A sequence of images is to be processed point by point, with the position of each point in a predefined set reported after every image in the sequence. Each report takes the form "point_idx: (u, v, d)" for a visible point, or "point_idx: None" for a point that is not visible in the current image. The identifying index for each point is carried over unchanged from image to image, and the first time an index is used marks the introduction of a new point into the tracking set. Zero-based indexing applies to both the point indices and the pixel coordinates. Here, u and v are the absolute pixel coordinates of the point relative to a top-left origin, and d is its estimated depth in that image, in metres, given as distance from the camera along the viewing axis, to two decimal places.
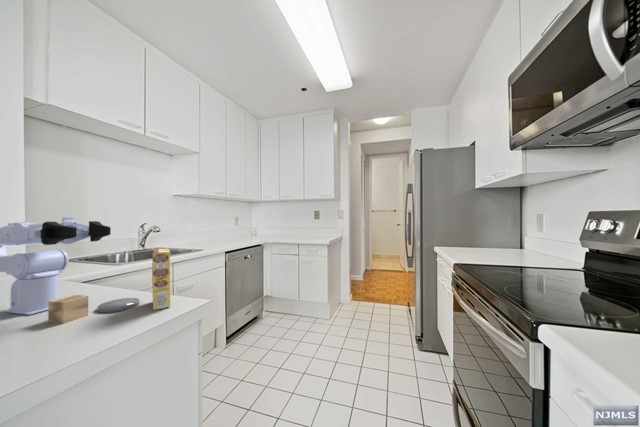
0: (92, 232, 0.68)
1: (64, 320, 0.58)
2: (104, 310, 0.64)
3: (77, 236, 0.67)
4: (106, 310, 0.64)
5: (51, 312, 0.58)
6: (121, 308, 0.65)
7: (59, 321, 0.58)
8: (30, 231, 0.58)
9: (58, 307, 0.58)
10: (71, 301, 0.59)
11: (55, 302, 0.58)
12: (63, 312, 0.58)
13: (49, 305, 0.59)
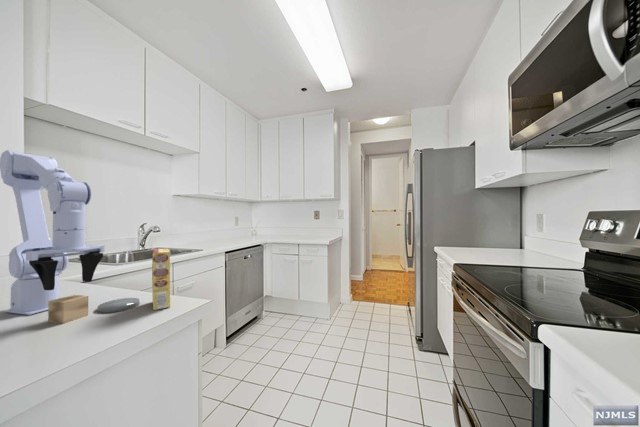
0: (85, 259, 0.64)
1: (64, 320, 0.58)
2: (104, 310, 0.64)
3: None
4: (106, 310, 0.64)
5: (51, 312, 0.58)
6: (121, 308, 0.65)
7: (59, 321, 0.58)
8: (30, 255, 0.54)
9: (58, 307, 0.58)
10: (71, 301, 0.59)
11: (55, 302, 0.58)
12: (63, 312, 0.58)
13: (49, 305, 0.59)
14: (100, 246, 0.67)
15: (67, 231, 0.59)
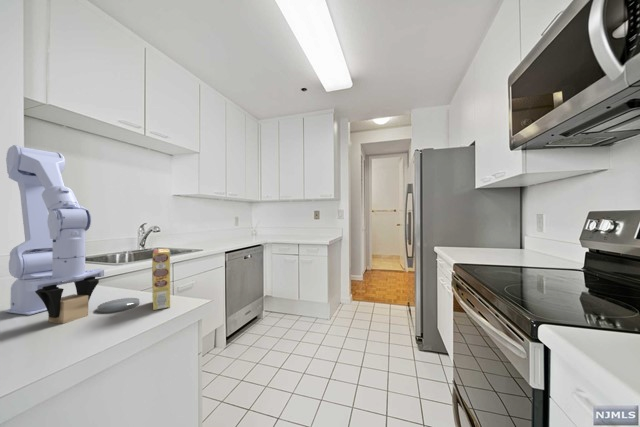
0: (81, 285, 0.63)
1: (64, 320, 0.58)
2: (104, 310, 0.64)
3: None
4: (106, 310, 0.64)
5: None
6: (121, 308, 0.65)
7: (59, 321, 0.58)
8: (30, 285, 0.53)
9: None
10: (71, 301, 0.59)
11: None
12: (63, 312, 0.58)
13: None
14: (100, 271, 0.66)
15: (67, 259, 0.58)
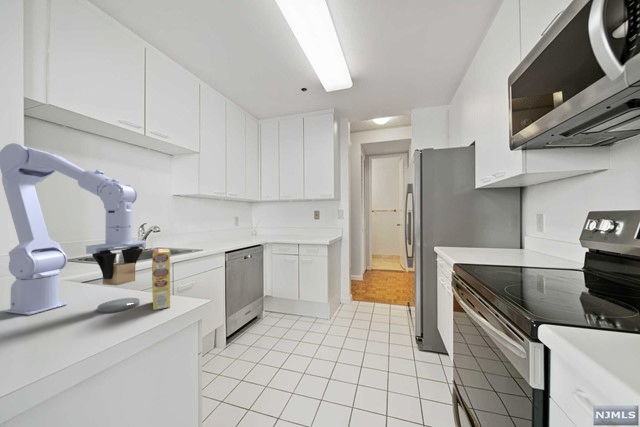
0: (127, 253, 0.71)
1: (117, 282, 0.65)
2: (104, 310, 0.64)
3: None
4: (106, 310, 0.64)
5: None
6: (121, 308, 0.65)
7: (113, 283, 0.66)
8: (91, 248, 0.61)
9: None
10: (122, 266, 0.67)
11: None
12: (116, 275, 0.65)
13: None
14: (142, 242, 0.74)
15: (118, 228, 0.66)
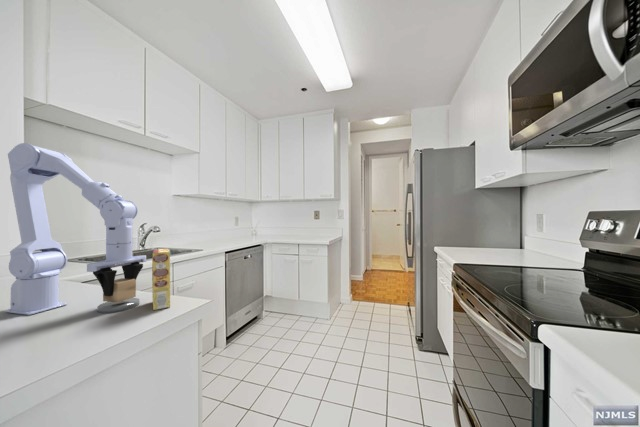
0: (128, 269, 0.71)
1: (118, 299, 0.65)
2: (104, 310, 0.64)
3: None
4: (106, 310, 0.64)
5: None
6: (121, 308, 0.65)
7: (113, 300, 0.66)
8: (91, 266, 0.61)
9: None
10: (123, 283, 0.67)
11: None
12: (117, 292, 0.65)
13: None
14: (143, 257, 0.74)
15: (119, 245, 0.66)
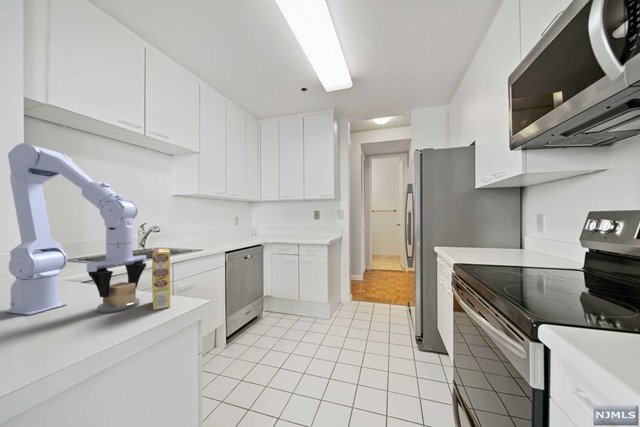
0: (131, 268, 0.72)
1: (118, 303, 0.65)
2: (104, 310, 0.64)
3: None
4: (106, 310, 0.64)
5: (106, 297, 0.66)
6: (121, 308, 0.65)
7: (113, 304, 0.66)
8: (91, 266, 0.61)
9: (112, 292, 0.66)
10: (123, 287, 0.67)
11: None
12: (117, 296, 0.65)
13: None
14: (143, 257, 0.74)
15: (119, 245, 0.66)
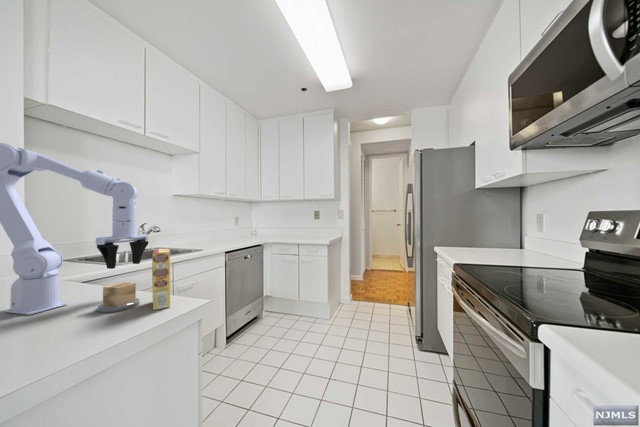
0: (135, 245, 0.79)
1: (118, 303, 0.65)
2: (104, 310, 0.64)
3: None
4: (106, 310, 0.64)
5: (106, 297, 0.66)
6: (121, 308, 0.65)
7: (113, 304, 0.66)
8: (100, 240, 0.69)
9: (112, 292, 0.66)
10: (123, 287, 0.67)
11: (109, 288, 0.66)
12: (117, 296, 0.65)
13: (104, 290, 0.66)
14: (145, 235, 0.82)
15: (124, 222, 0.74)
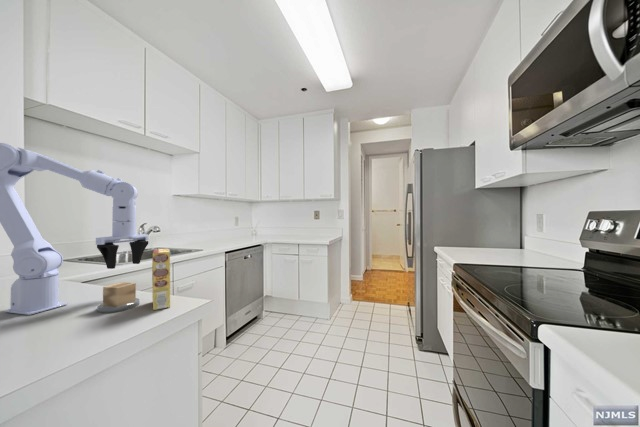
0: (135, 245, 0.79)
1: (118, 303, 0.65)
2: (104, 310, 0.64)
3: None
4: (106, 310, 0.64)
5: (106, 297, 0.66)
6: (121, 308, 0.65)
7: (113, 304, 0.66)
8: (100, 240, 0.69)
9: (112, 292, 0.66)
10: (123, 287, 0.67)
11: (109, 288, 0.66)
12: (117, 296, 0.65)
13: (104, 290, 0.66)
14: (145, 235, 0.82)
15: (124, 222, 0.74)
